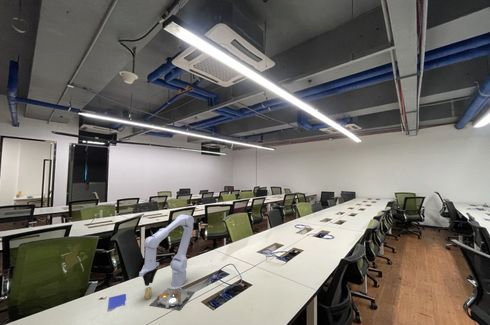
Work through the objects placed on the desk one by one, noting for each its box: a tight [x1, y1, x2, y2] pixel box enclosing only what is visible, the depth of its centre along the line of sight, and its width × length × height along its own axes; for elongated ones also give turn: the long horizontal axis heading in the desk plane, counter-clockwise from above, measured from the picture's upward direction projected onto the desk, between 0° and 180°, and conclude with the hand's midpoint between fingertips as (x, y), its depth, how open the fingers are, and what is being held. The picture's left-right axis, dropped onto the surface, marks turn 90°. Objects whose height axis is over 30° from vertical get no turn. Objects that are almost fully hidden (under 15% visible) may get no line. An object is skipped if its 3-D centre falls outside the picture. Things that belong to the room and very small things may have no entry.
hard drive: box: [106, 293, 127, 313], centre depth 108 cm, size 2×8×12 cm
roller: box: [144, 286, 152, 301], centre depth 112 cm, size 3×3×6 cm
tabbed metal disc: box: [156, 286, 191, 308], centre depth 112 cm, size 18×18×5 cm
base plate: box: [148, 287, 196, 312], centre depth 112 cm, size 18×18×1 cm
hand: (148, 284), depth 113 cm, fingers open, 2 cm apart
